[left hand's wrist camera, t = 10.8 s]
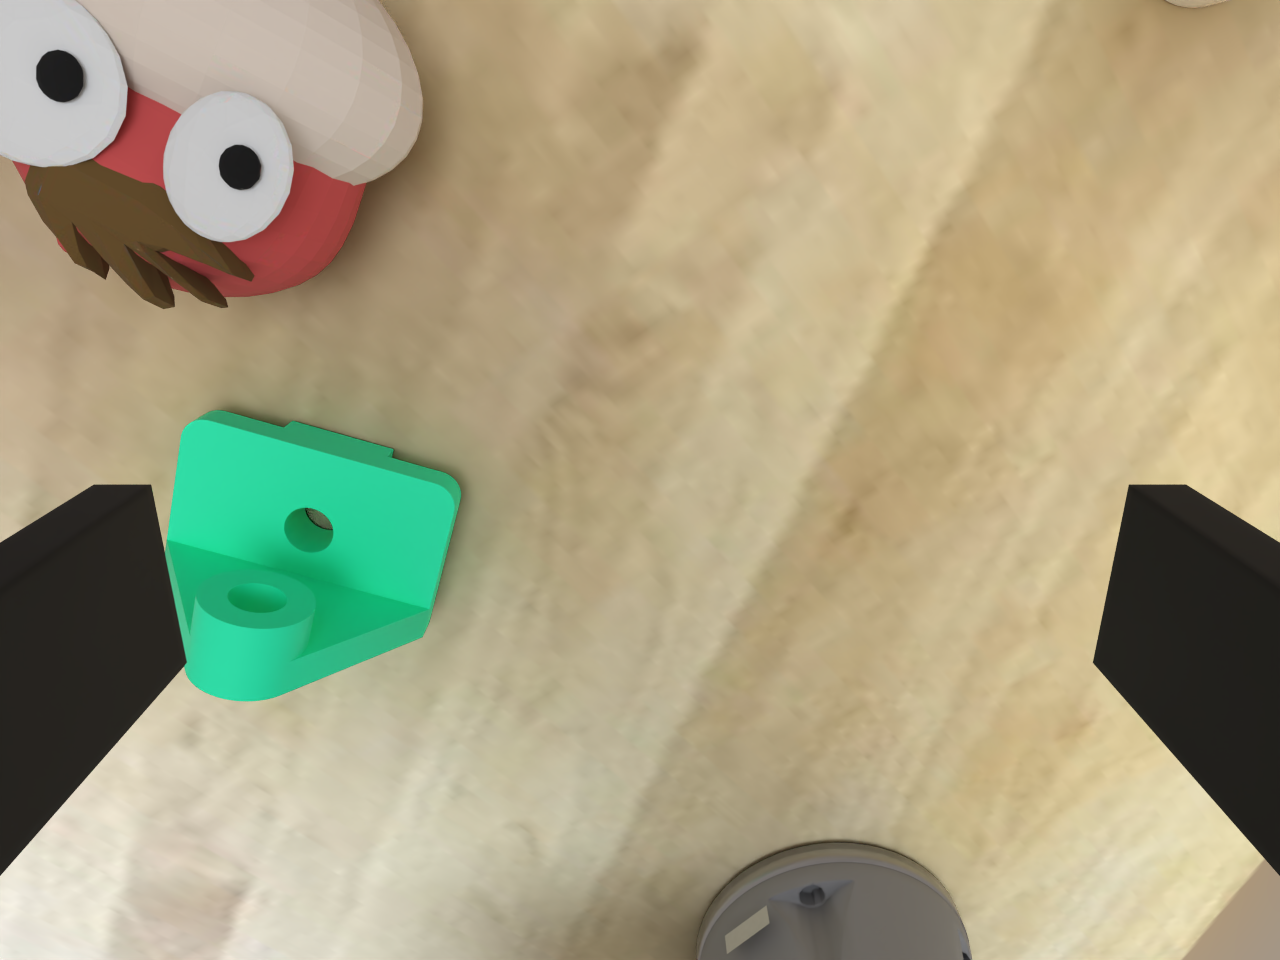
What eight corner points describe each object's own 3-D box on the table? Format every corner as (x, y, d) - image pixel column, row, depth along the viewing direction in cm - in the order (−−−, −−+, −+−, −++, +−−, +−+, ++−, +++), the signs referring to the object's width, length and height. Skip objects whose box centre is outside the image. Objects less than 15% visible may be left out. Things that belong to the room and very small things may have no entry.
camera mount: (470, 470, 42) (419, 565, 32) (434, 610, 44) (377, 737, 35) (211, 398, 41) (78, 473, 31) (189, 545, 43) (60, 658, 34)
